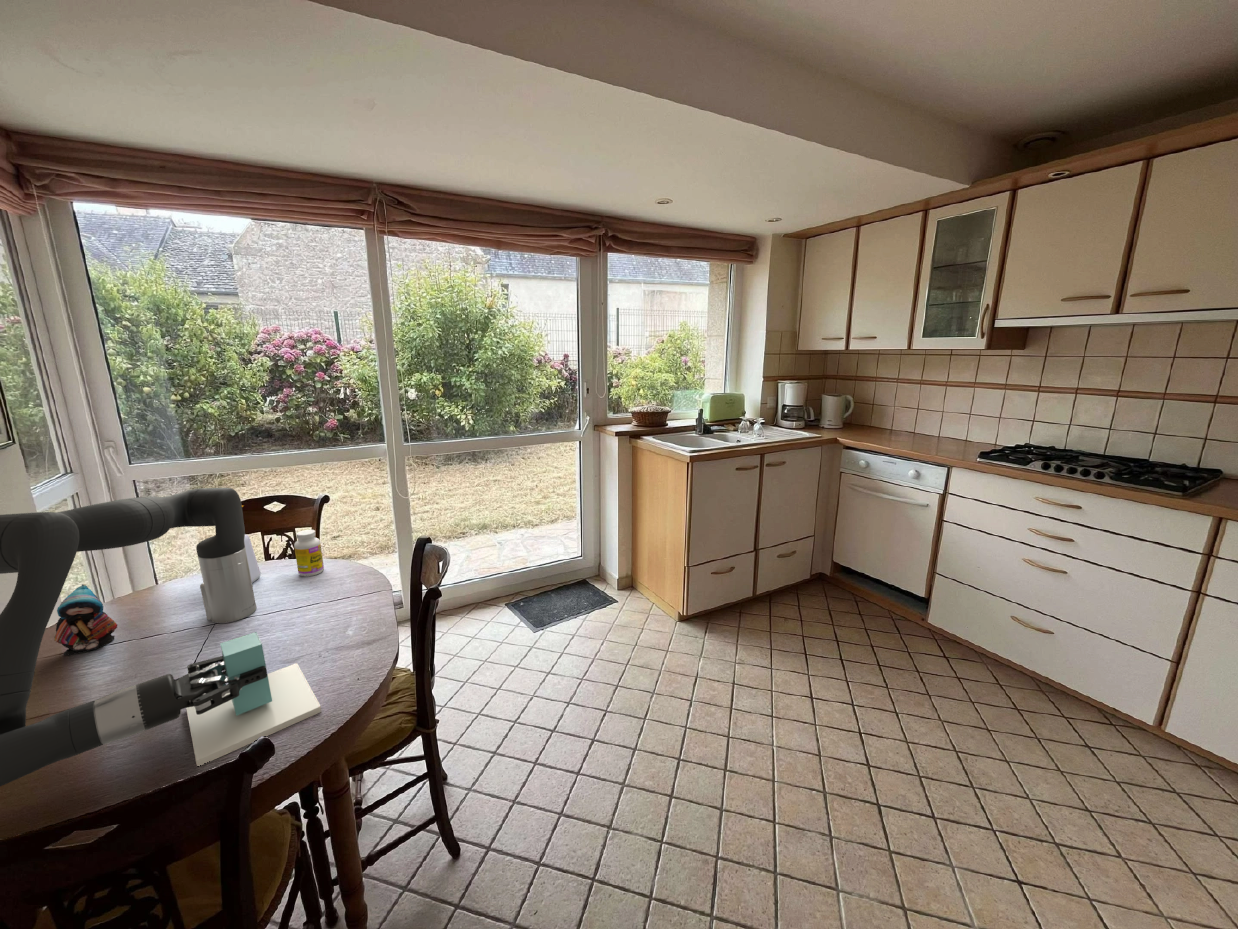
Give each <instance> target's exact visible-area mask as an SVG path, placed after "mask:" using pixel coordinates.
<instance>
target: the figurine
mask: <svg viewBox="0 0 1238 929" xmlns="http://www.w3.org/2000/svg"><path fill="white" fill-rule="evenodd" d="M56 613H57V615H58V617H59V618H58V620H57V622H56V624H55V634H54V640H53V641H54V642H55V643H58V644H59V645H60V644H61V645H62V646H63V647H65V648H66V650H65V651H64V653H63V655H64V656H73V655H76V654H80V653H85V652H90V651H94V650H96V649H100V648H102V647H103V646H106V645H108V644H110V643H112V642H113V641H115V635H112V634H113V633H114V632H115V631H116V629H118V624H117V623H116V622H115V620H114V619H112V617H110V616H109V615H108V614H107V613H106V612H105V611H104V605H103V602H102V601H101V600H100V599H99V598H98V596H97V595H96V594H95V593H94V592H93V591H92V589H90V588H89V587H88V586H87V584H85V583H83V584H81V585H80V586H78V587H76V588H75V589H74V590H73V591H72V592H71V593H70V594H69V595H67V596H66V597H65V598H64V599H63V601H61V603H60V604H59V606H57V608H56Z"/></svg>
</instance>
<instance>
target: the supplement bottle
mask: <svg viewBox="0 0 1238 929" xmlns="http://www.w3.org/2000/svg"><path fill="white" fill-rule="evenodd" d="M296 538H297V540H296V541H295V542H294V544H293V546H294V553H295V559H296V560H295V561H296V566H297V568H296V569H297V573H298V575H299V576H301V577H314V576H317V575H319V574H320V573H322V572H323V571H324V569H325V566H324V559H323V552H322V545H321V544H322V543H321V540H320V539H319V538H317V537H316V530H314V529H305V530H300V531H298V532H297V533H296Z"/></svg>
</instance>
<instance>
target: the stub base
mask: <svg viewBox="0 0 1238 929" xmlns="http://www.w3.org/2000/svg"><path fill="white" fill-rule="evenodd" d="M267 675H268V680H269V686H270V691H271V697H272V702H269V703H267V704H264V705H262V706H259V707H257V708H254V709H252V710H249V711H247V712H244V713H242V714H240V715H237V716H236V713H235V710H234V706H233V703H232V700H230V701H228V702H225V703H223V704H221V705H219V706H217V707H215V708H213V709H211V710H209V711H207V712H205V713H203V714H200V715H197V714H196V709H195V707H194V706H193V707H188V708H185V710H186V714H187V719H188V723H189V724H188V725H189V730H190V735H191V741H192V746H193V753H194V758H195V759H194V760H195V763H196V767H197V766H199V767H200V765H201V766H203V765H205V764H204V763H206V764H208V763H210V762H212V761H215V760H216V759H218V758H221V757H224V756H225V755H228V754H229V753H233V752H234V751H236V750H239V749H241V748H243V747H246V746H249V745H250V744H253V743H255V742H256V741H255V740H257V739H258V738H259V737H261V736H266V737H268V736H270V735H272V734H275V733H277V732H279V731H281V730H284V729H286V728H288V727H291V726H292V725H295V724H297V723H299V722H301V721H304V720H306V719H309V718H311V717H313V716H315V715H317V714H320V713H322V711H323V710H322V707H321V704H320V702H319V700H318V699H317V697H316V695H315V694H314V692H313V689H312V687H311V686H310V684H309V682H308V681H307V679H306V676H305V675H304V673H303V671H302V670H301V668H300V666H299V664H298V662H296V663H293V664H290V665H288V666H285V667H283V668H279V669H277V670H275V671H272V672H269V673H267ZM228 694H230V693H226V694H225V695H224V696H226V695H228ZM224 696H223V697H224ZM254 741H255V742H254ZM257 741H258V740H257ZM252 742H253V743H252ZM209 761H210V762H209ZM207 762H208V763H207Z"/></svg>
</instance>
